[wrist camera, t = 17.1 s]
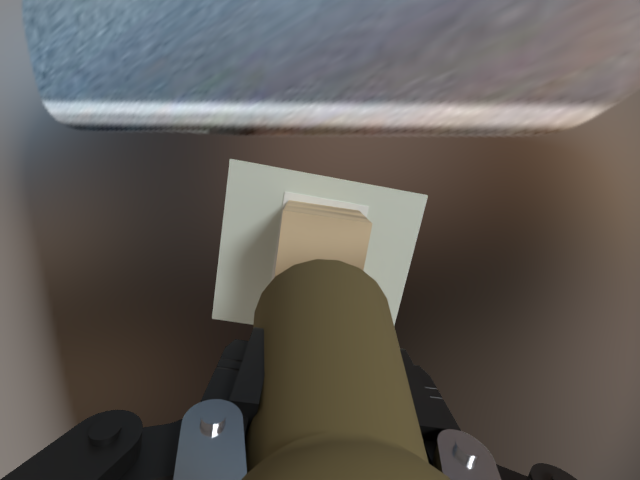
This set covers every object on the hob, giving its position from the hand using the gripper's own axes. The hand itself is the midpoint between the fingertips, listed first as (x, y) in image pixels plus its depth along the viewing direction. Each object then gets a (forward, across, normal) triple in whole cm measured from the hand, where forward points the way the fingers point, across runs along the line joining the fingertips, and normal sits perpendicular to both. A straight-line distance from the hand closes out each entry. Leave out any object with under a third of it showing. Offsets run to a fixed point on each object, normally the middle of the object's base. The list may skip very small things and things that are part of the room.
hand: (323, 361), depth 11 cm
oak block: (+12, 0, 0) cm, 12 cm away
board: (+13, 0, 0) cm, 13 cm away
